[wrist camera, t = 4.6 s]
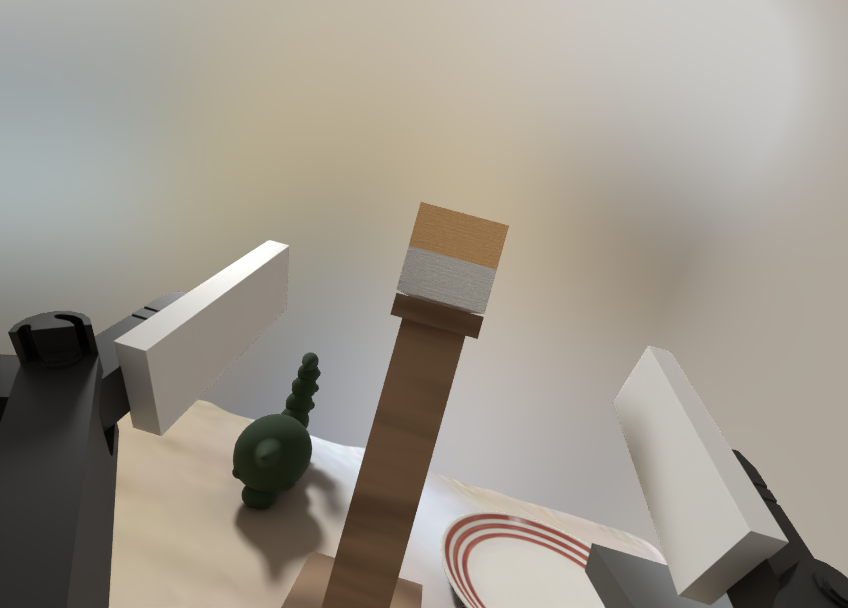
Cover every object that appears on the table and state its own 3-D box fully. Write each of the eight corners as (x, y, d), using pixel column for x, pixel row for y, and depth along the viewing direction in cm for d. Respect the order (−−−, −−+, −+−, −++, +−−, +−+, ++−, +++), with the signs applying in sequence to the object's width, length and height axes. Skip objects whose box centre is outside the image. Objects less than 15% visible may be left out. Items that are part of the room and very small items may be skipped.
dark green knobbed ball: (256, 453, 67) (195, 525, 42) (289, 343, 69) (248, 352, 44) (312, 465, 68) (284, 542, 44) (342, 357, 70) (332, 373, 46)
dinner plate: (741, 797, 31) (752, 755, 31) (409, 640, 37) (419, 605, 37) (632, 580, 58) (638, 557, 58) (451, 509, 63) (456, 489, 63)
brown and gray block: (484, 313, 17) (508, 225, 17) (396, 289, 18) (421, 201, 18) (458, 312, 39) (469, 273, 39) (419, 301, 40) (430, 262, 40)
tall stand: (403, 790, 25) (531, 330, 25) (223, 731, 25) (350, 279, 26) (417, 603, 41) (495, 322, 41) (306, 569, 41) (384, 291, 42)
